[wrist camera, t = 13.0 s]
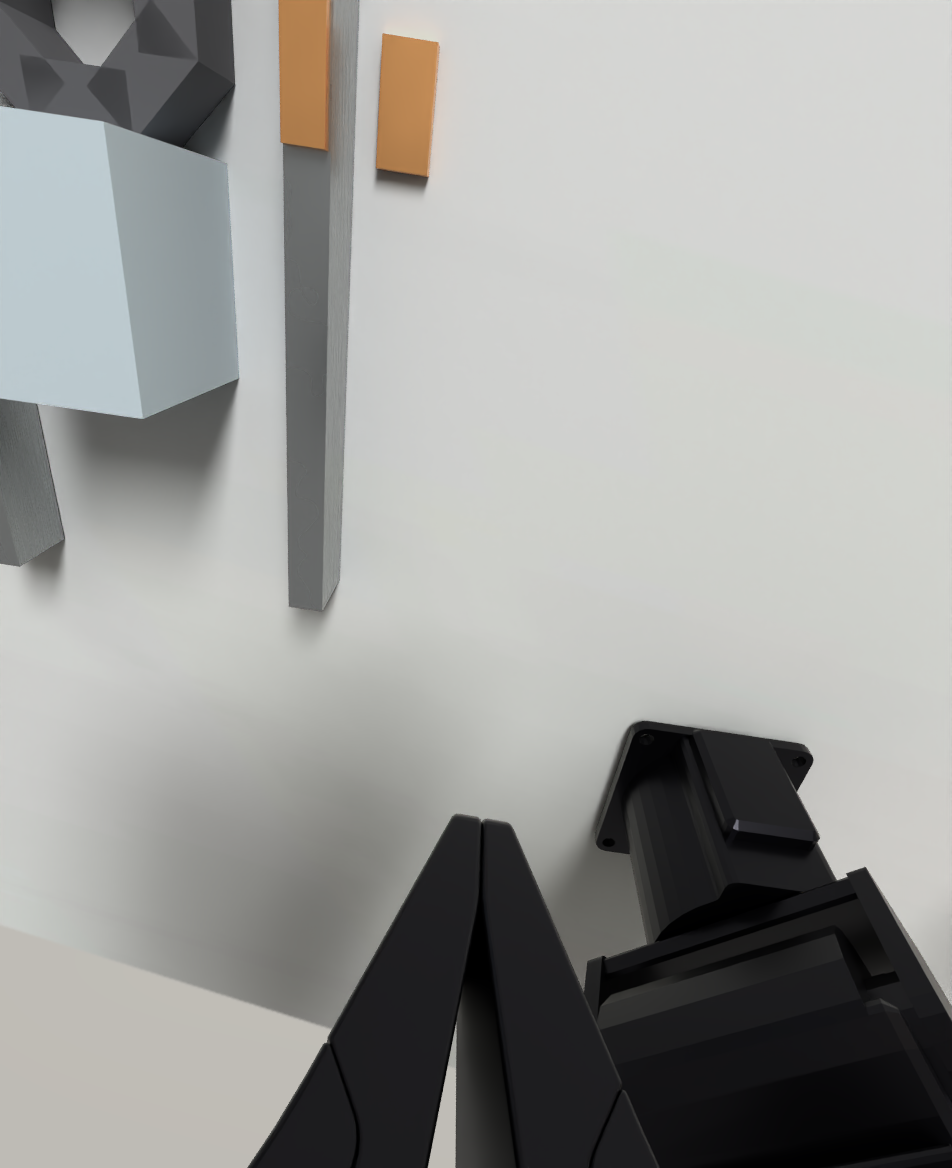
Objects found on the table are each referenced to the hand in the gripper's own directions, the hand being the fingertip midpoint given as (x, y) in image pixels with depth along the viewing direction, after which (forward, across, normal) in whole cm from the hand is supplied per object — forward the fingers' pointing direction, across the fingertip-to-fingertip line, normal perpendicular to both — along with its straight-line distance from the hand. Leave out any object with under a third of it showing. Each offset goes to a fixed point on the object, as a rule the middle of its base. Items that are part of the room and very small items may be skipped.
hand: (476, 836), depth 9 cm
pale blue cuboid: (+11, +10, -6) cm, 16 cm away
